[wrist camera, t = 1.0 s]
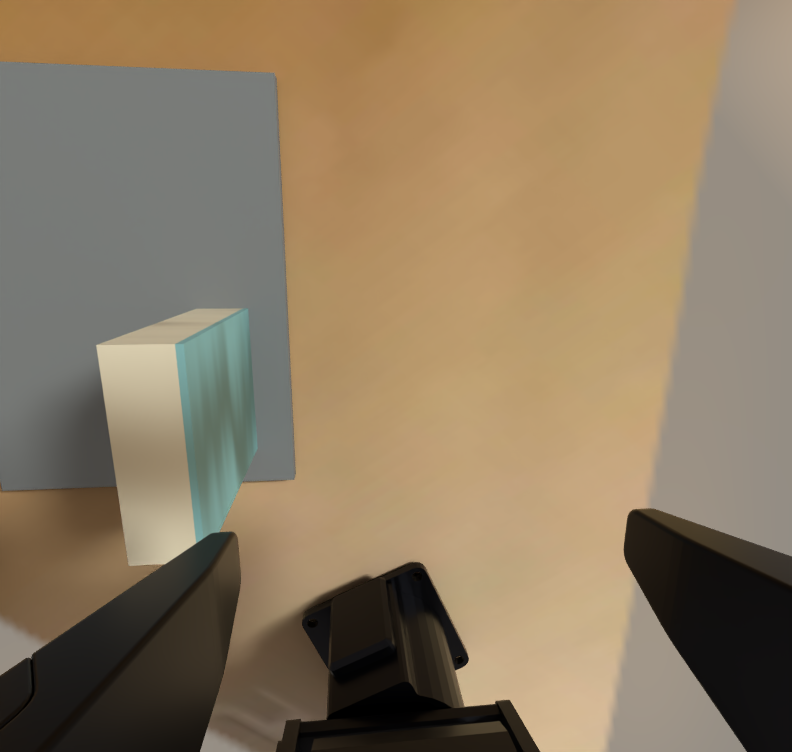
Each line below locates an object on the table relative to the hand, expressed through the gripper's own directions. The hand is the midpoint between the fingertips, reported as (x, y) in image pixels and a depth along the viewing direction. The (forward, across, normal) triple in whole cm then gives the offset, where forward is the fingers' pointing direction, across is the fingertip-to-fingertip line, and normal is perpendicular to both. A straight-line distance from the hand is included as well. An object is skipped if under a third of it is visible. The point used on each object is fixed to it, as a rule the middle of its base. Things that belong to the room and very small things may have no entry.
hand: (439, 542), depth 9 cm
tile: (+12, +6, 0) cm, 14 cm away
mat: (+13, +10, -4) cm, 17 cm away
